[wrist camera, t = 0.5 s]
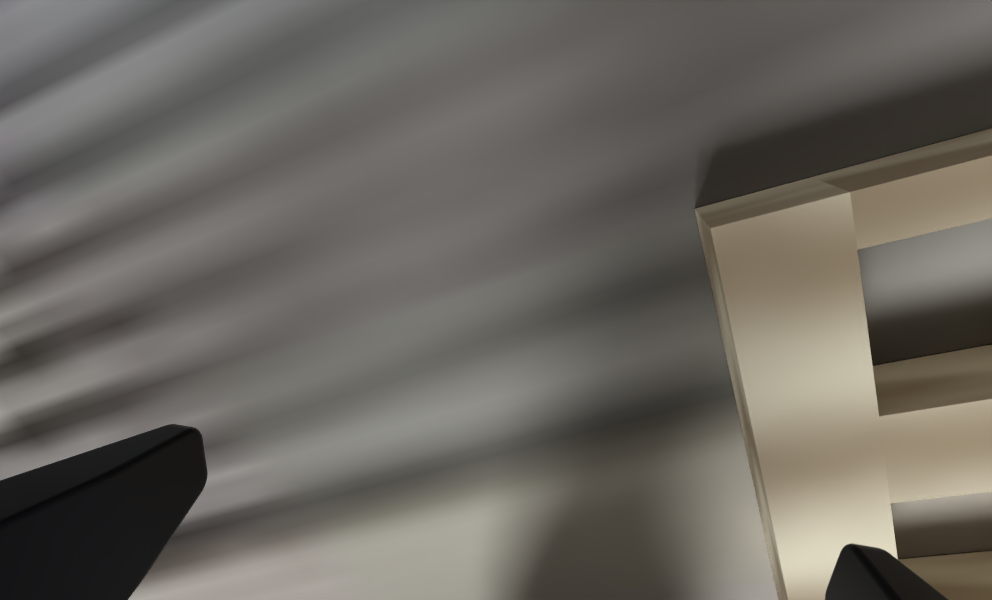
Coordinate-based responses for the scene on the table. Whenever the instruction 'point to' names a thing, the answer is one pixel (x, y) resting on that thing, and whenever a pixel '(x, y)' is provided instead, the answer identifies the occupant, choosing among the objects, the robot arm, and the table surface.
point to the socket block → (849, 364)
